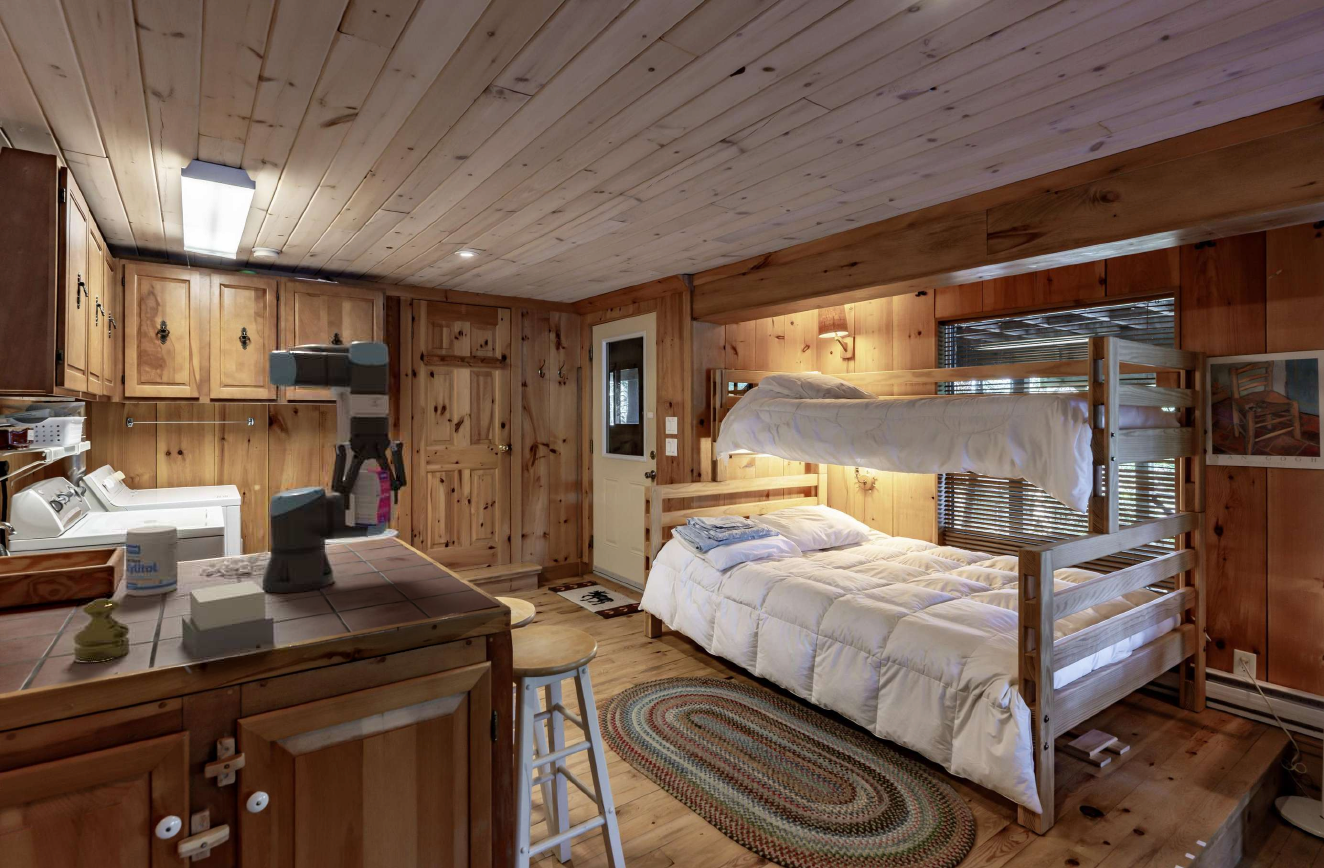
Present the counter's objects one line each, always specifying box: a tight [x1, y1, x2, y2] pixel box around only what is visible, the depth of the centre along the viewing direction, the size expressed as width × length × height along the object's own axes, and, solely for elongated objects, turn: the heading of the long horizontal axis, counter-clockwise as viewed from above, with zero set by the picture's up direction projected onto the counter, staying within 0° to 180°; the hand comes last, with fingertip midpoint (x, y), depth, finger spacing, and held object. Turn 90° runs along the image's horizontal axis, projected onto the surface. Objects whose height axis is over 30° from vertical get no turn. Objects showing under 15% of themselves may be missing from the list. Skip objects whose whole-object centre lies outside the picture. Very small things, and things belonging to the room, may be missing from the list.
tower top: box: [189, 580, 266, 631], centre depth 122 cm, size 10×10×5 cm
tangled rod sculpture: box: [199, 550, 270, 576], centre depth 173 cm, size 19×14×4 cm
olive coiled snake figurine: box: [72, 597, 130, 662], centre depth 115 cm, size 7×7×10 cm
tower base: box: [181, 610, 275, 660], centre depth 122 cm, size 12×12×5 cm
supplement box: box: [351, 469, 391, 526], centre depth 140 cm, size 6×6×12 cm
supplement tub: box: [125, 525, 179, 597], centre depth 153 cm, size 10×10×15 cm
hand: (370, 522), depth 141 cm, fingers closed on supplement box, 8 cm apart
